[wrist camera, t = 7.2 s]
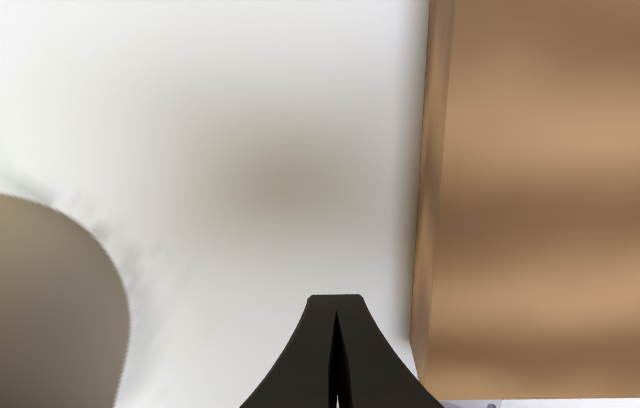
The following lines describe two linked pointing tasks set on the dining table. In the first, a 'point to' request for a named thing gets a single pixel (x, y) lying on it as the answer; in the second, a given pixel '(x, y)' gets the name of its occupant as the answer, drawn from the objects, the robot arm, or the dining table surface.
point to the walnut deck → (529, 201)
